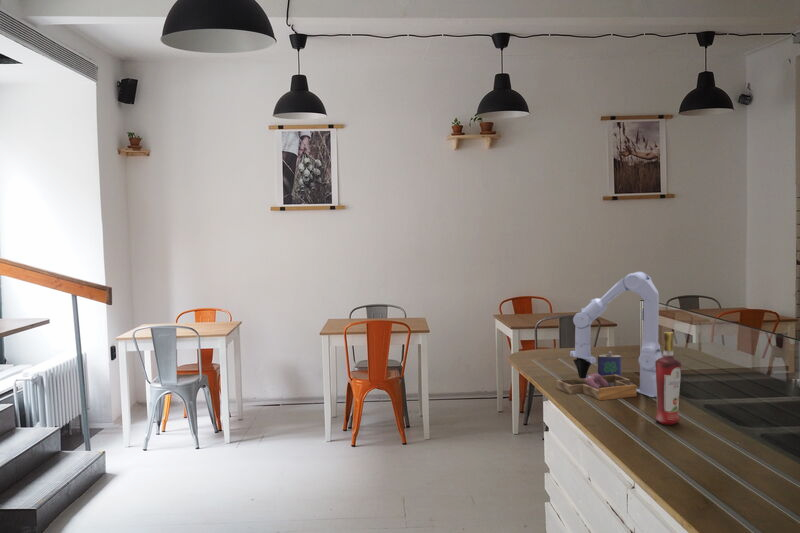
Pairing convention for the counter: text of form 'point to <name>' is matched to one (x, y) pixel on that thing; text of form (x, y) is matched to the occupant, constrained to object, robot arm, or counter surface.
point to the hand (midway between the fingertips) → (582, 378)
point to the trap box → (616, 390)
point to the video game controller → (595, 381)
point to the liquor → (668, 383)
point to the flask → (609, 364)
